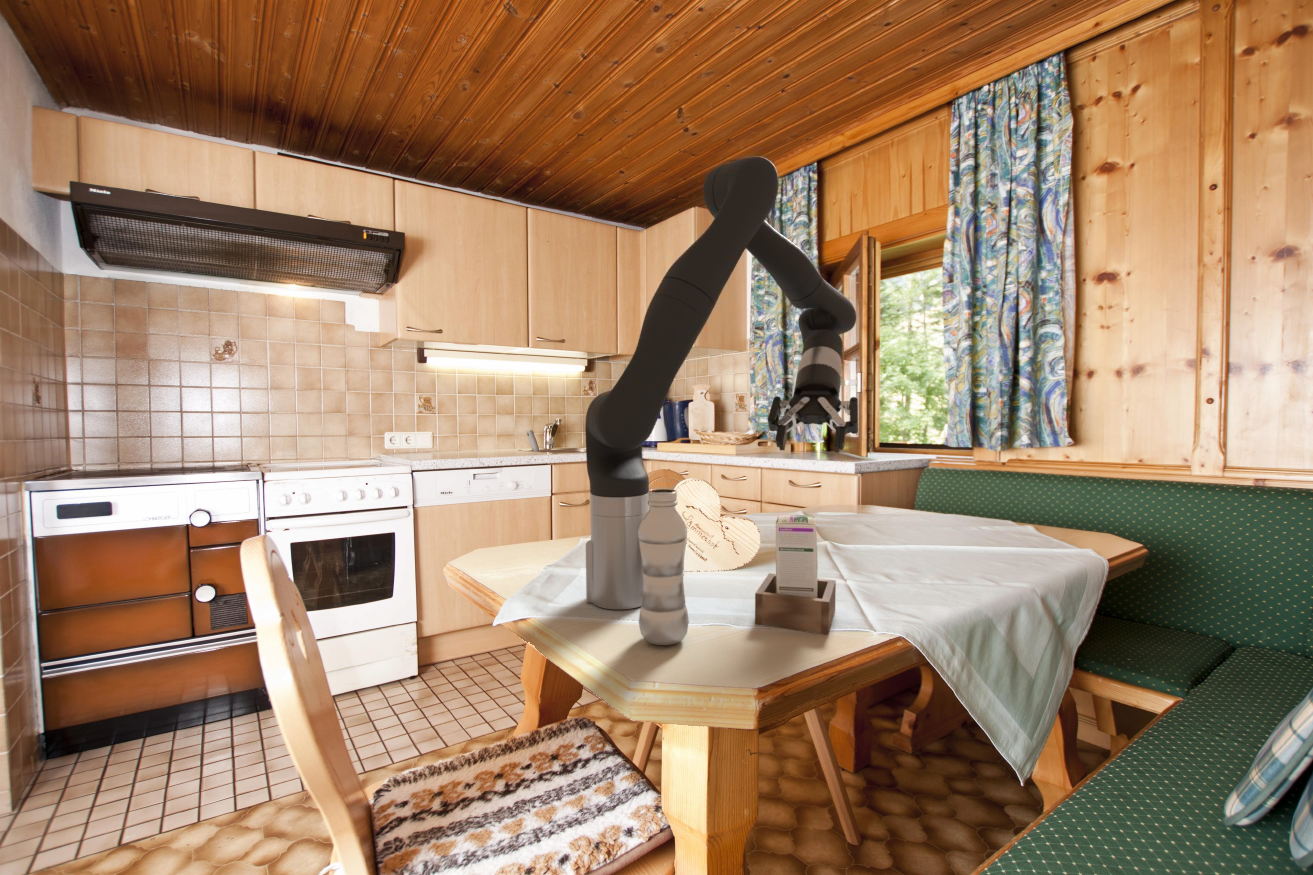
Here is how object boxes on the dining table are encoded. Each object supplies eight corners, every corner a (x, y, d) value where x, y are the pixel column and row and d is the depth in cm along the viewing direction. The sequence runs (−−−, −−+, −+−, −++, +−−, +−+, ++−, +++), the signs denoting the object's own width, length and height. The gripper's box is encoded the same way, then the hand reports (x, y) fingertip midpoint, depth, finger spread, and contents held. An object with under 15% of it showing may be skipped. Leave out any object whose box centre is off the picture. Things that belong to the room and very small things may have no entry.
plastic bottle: (699, 640, 77) (698, 490, 75) (663, 656, 72) (662, 496, 71) (664, 626, 81) (663, 485, 80) (628, 641, 76) (626, 491, 75)
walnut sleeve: (755, 624, 82) (755, 593, 82) (768, 601, 91) (769, 573, 91) (828, 634, 78) (829, 602, 78) (835, 609, 87) (835, 580, 87)
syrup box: (817, 625, 81) (819, 523, 80) (774, 622, 83) (775, 521, 82) (816, 611, 87) (817, 515, 86) (776, 607, 88) (776, 513, 87)
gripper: (775, 362, 102) (760, 431, 92) (861, 361, 97) (855, 433, 87) (779, 393, 107) (766, 461, 97) (861, 393, 102) (856, 465, 92)
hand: (808, 448), depth 92 cm, fingers open, 8 cm apart
